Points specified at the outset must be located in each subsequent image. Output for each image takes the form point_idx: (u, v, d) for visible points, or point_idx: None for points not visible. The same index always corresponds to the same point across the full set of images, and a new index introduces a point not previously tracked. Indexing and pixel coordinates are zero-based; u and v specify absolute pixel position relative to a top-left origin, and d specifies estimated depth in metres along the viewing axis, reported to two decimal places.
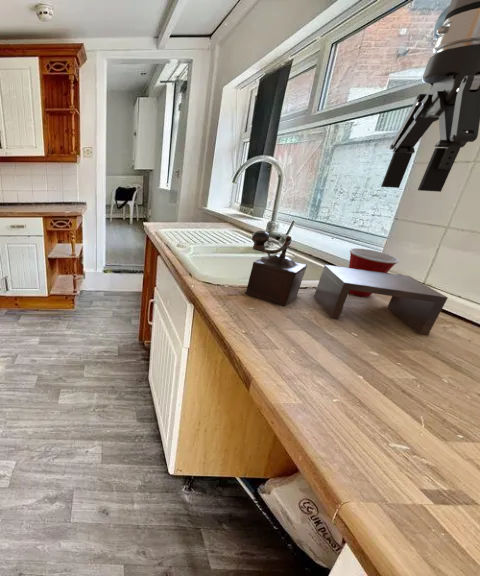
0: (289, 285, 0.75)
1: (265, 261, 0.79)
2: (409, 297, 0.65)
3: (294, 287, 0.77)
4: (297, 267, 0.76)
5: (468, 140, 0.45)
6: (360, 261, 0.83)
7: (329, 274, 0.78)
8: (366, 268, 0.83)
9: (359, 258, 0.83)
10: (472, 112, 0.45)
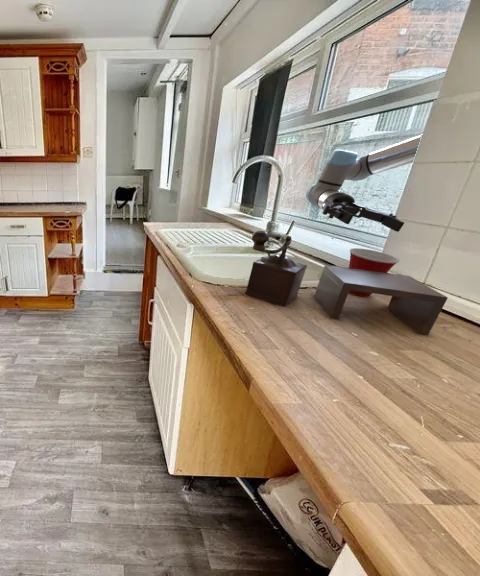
0: (289, 285, 0.75)
1: (265, 261, 0.79)
2: (409, 297, 0.65)
3: (294, 287, 0.77)
4: (297, 267, 0.76)
5: (326, 208, 0.93)
6: (360, 261, 0.83)
7: (329, 274, 0.78)
8: (366, 268, 0.83)
9: (359, 258, 0.83)
10: (325, 206, 0.97)
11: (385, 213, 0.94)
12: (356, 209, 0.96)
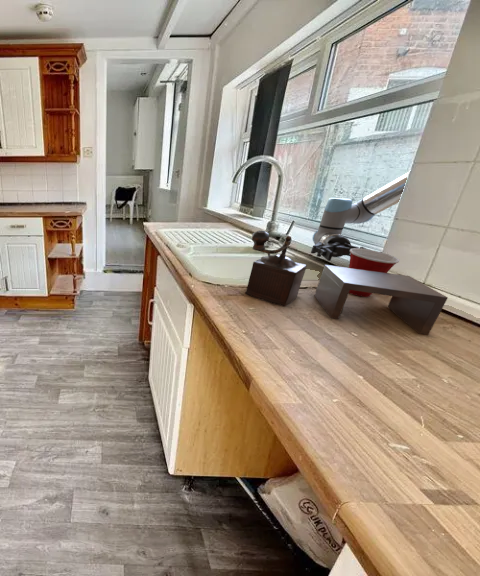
0: (289, 285, 0.75)
1: (265, 261, 0.79)
2: (409, 297, 0.65)
3: (294, 287, 0.77)
4: (297, 267, 0.76)
5: (313, 248, 1.02)
6: (360, 261, 0.83)
7: (329, 274, 0.78)
8: (366, 268, 0.83)
9: (359, 258, 0.83)
10: None
11: None
12: (348, 249, 1.03)
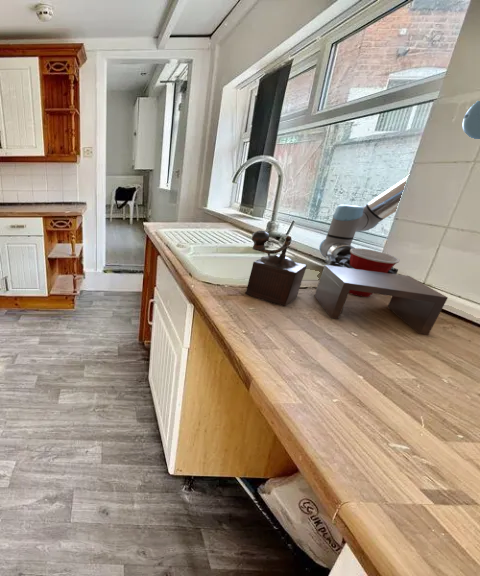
0: (289, 285, 0.75)
1: (265, 261, 0.79)
2: (409, 297, 0.65)
3: (294, 287, 0.77)
4: (297, 267, 0.76)
5: (332, 263, 0.90)
6: (360, 261, 0.83)
7: (329, 274, 0.78)
8: (366, 268, 0.83)
9: (359, 258, 0.83)
10: (329, 261, 0.94)
11: None
12: None
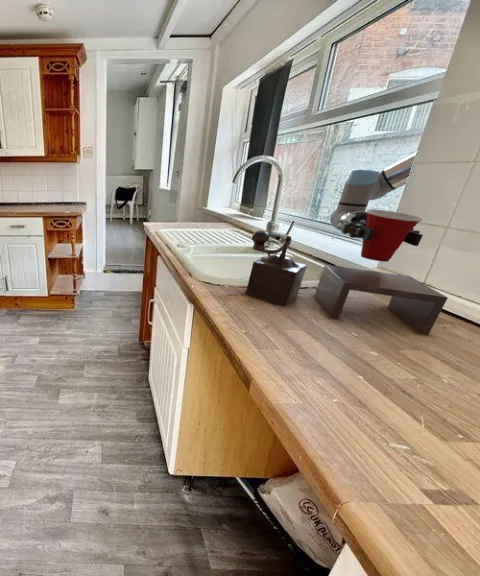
0: (289, 285, 0.75)
1: (265, 261, 0.79)
2: (409, 297, 0.65)
3: (294, 287, 0.77)
4: (297, 267, 0.76)
5: (346, 227, 0.83)
6: (379, 221, 0.75)
7: (329, 274, 0.78)
8: (385, 229, 0.75)
9: (377, 217, 0.75)
10: (342, 226, 0.86)
11: None
12: None
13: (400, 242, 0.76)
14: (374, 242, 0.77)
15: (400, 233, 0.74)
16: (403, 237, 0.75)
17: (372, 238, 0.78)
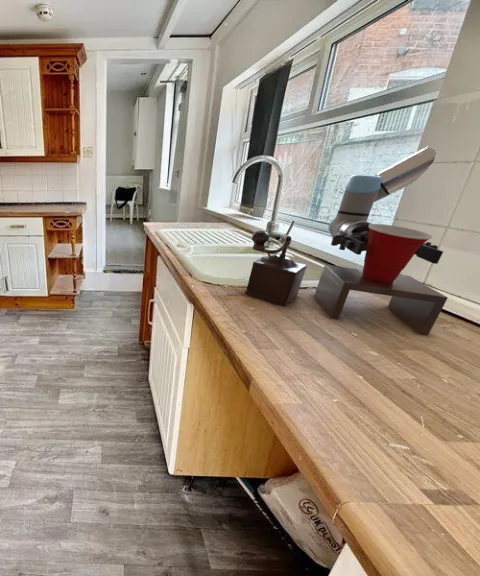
0: (289, 285, 0.75)
1: (265, 261, 0.79)
2: (409, 297, 0.65)
3: (294, 287, 0.77)
4: (297, 267, 0.76)
5: (334, 238, 0.76)
6: (382, 238, 0.67)
7: (329, 274, 0.78)
8: (390, 247, 0.67)
9: (381, 234, 0.67)
10: None
11: None
12: None
13: (406, 262, 0.67)
14: (377, 261, 0.69)
15: (406, 252, 0.66)
16: (410, 256, 0.67)
17: (375, 257, 0.69)
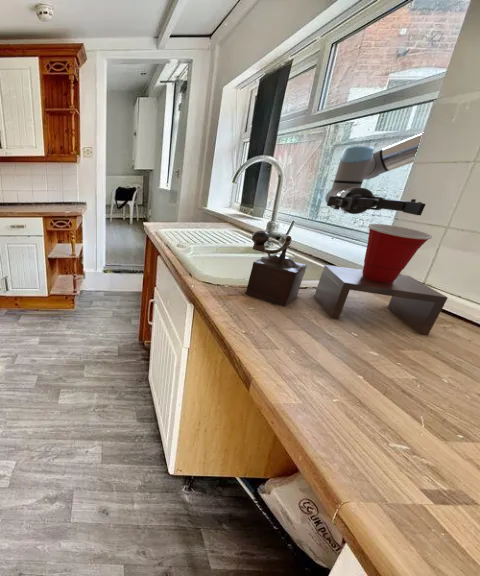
0: (289, 285, 0.75)
1: (265, 261, 0.79)
2: (409, 297, 0.65)
3: (294, 287, 0.77)
4: (297, 267, 0.76)
5: (330, 199, 0.84)
6: (382, 238, 0.67)
7: (329, 274, 0.78)
8: (390, 247, 0.67)
9: (381, 234, 0.67)
10: None
11: (409, 201, 0.80)
12: (372, 200, 0.85)
13: (406, 262, 0.67)
14: (377, 261, 0.69)
15: (406, 252, 0.66)
16: (410, 256, 0.67)
17: (375, 257, 0.69)
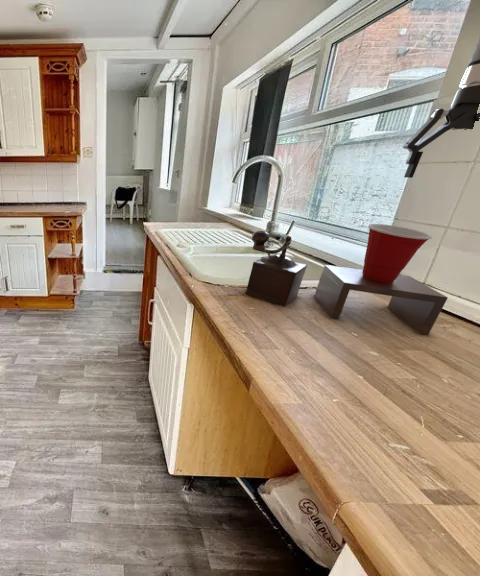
0: (289, 285, 0.75)
1: (265, 261, 0.79)
2: (409, 297, 0.65)
3: (294, 287, 0.77)
4: (297, 267, 0.76)
5: (406, 147, 0.82)
6: (382, 238, 0.67)
7: (329, 274, 0.78)
8: (390, 247, 0.67)
9: (381, 234, 0.67)
10: (419, 131, 0.80)
11: None
12: (470, 128, 0.77)
13: (406, 262, 0.67)
14: (377, 261, 0.69)
15: (406, 252, 0.66)
16: (410, 256, 0.67)
17: (375, 257, 0.69)
